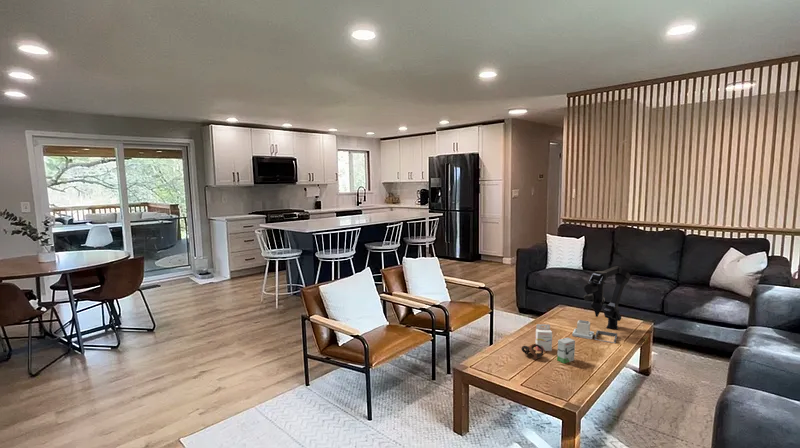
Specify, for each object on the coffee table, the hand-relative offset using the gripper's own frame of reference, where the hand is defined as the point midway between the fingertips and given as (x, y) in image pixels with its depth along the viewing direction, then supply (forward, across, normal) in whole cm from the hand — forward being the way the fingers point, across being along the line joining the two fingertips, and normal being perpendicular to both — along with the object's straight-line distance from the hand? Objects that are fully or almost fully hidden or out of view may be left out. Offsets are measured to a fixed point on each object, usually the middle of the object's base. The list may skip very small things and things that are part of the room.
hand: (597, 314), depth 263 cm
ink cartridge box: (+12, +44, -24) cm, 52 cm away
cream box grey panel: (+11, +9, -7) cm, 16 cm away
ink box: (+12, +53, -10) cm, 55 cm away
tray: (+12, +10, -7) cm, 17 cm away
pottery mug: (+12, +57, -28) cm, 64 cm away
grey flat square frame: (+12, +8, +6) cm, 16 cm away
